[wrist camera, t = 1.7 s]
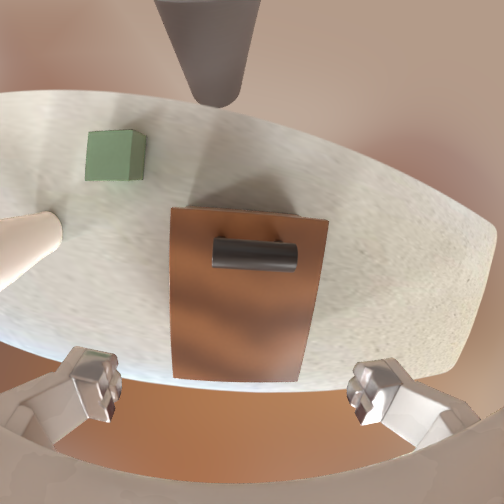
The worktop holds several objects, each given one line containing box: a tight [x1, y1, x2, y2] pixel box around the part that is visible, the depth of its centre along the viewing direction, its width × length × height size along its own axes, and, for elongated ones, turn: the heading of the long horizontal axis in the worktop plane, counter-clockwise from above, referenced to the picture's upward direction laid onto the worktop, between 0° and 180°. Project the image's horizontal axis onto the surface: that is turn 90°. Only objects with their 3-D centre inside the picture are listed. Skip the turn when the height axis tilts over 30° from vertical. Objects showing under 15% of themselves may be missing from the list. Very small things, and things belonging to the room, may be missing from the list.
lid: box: [169, 207, 329, 382], centre depth 22 cm, size 16×13×5 cm
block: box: [85, 130, 147, 181], centre depth 26 cm, size 5×5×5 cm
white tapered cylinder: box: [0, 211, 63, 291], centre depth 22 cm, size 7×7×15 cm
